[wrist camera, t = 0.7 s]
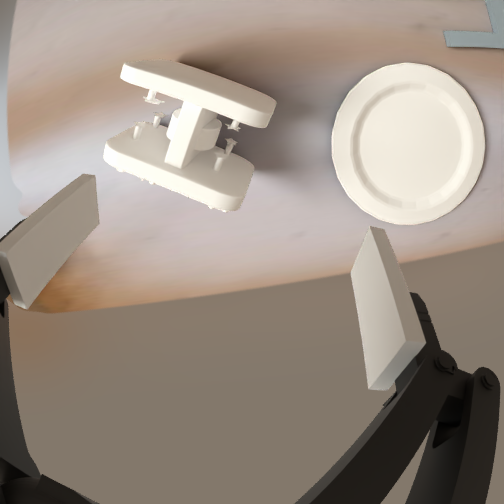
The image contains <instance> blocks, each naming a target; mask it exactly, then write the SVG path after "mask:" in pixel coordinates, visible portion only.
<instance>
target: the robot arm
mask: <svg viewBox="0 0 504 504" xmlns="http://www.w3.org/2000/svg"><path fill="white" fill-rule="evenodd" d="M99 223H100V222H99V213H98V203H97V192H96V178H95V175H89V174H82V175H81V176H79V177H78V178H77V179H75V180H74V181H73V182H71V183H70V184H69V185H67V186H66V187H65V188H63V189H62V190H61V191H59V192H58V193H57V194H56V195H54V196H53V197H52V198H51V199H49V200H48V201H47V202H46V203H44V204H43V205H42V206H41V207H40V208H38V209H37V210H36V211H35V212H34V213H32V214H31V215H30V216H29V217H28V218H26V219H24V220H22V221H20V222H19V223H18V224H17V225H15V226H14V227H13V228H12V230H10V231H9V232H8V233H7V234H6V235H4V236H3V237H2V238H1V239H0V504H99V503H97V502H95V501H93V500H91V499H89V498H87V497H85V496H83V495H81V494H80V493H78V492H76V491H74V490H72V489H70V488H68V487H66V486H64V485H62V484H60V483H58V482H56V481H54V480H52V479H50V478H48V477H47V476H44V475H43V474H42V475H40V473H39V470H38V468H37V466H36V464H35V463H34V461H33V460H32V458H31V457H30V454H29V453H28V450H27V446H26V442H25V439H24V434H23V429H22V425H21V420H20V416H19V410H18V405H17V399H16V393H15V386H14V380H13V371H12V362H11V352H10V339H9V319H8V318H9V317H8V303H7V300H6V298H7V297H8V295H9V294H11V297H12V299H13V301H14V304H15V305H18V306H20V307H22V308H25V309H28V308H29V306H30V305H31V304H32V302H33V301H34V300H35V298H36V297H37V296H38V295H39V293H40V292H41V291H42V289H43V288H44V287H45V286H46V284H47V283H48V282H49V281H50V279H51V278H52V277H53V276H54V275H55V273H56V272H57V271H58V270H59V269H60V267H61V266H62V265H63V264H64V263H65V261H66V260H67V259H68V258H69V257H70V256H71V254H72V253H73V252H74V251H75V250H76V249H77V248H78V246H79V245H80V244H81V243H82V242H83V241H84V240H85V239H86V238H87V236H88V235H89V234H90V233H91V232H92V231H93V230H94V229H95V228H96V227H97V226H98V225H99ZM351 278H352V284H353V289H354V295H355V300H356V306H357V311H358V318H359V323H360V330H361V337H362V343H363V350H364V358H365V365H366V373H367V381H368V389H373V390H388V389H389V388H390V386H391V385H392V384H393V383H394V382H395V385H396V392H395V393H394V394H393V395H392V396H391V397H390V398H389V399H388V400H387V401H386V402H385V403H384V404H383V406H384V407H383V408H382V410H381V411H380V413H378V415H377V416H376V417H375V418H374V420H373V421H372V422H371V423H370V425H369V426H368V427H367V428H366V430H365V431H364V432H363V433H362V434H361V436H360V437H359V438H358V439H357V440H356V441H355V443H354V444H353V445H352V446H351V447H350V448H349V449H348V450H347V452H346V453H345V454H344V455H343V456H342V457H341V458H340V459H339V460H338V461H337V463H336V464H335V465H334V466H333V467H332V468H331V469H330V470H329V471H328V472H327V473H326V474H325V475H324V476H323V477H322V478H321V479H320V480H319V481H318V482H317V483H316V484H315V485H314V486H313V487H312V488H311V489H310V490H309V491H308V492H307V493H305V495H303V496H302V497H301V498H300V499H299V500H298V501H297V502H296V503H295V504H380V503H381V502H382V501H383V499H384V498H385V497H386V496H387V494H388V493H389V491H390V490H391V489H392V487H393V486H394V485H395V483H396V482H397V480H398V479H399V478H400V476H401V475H402V473H403V472H404V470H405V469H406V467H407V466H408V464H409V463H410V461H411V459H412V458H413V457H414V455H415V453H416V452H417V450H418V449H419V447H420V445H421V444H422V442H423V440H424V439H425V437H426V435H427V433H428V432H429V430H430V433H429V436H428V440H427V443H426V447H425V450H424V453H423V456H422V459H421V462H420V466H419V468H418V472H417V474H416V477H415V480H414V482H413V485H412V488H411V491H410V493H409V496H408V498H407V501H406V503H405V504H485V502H486V498H487V494H488V489H489V485H490V480H491V474H492V469H493V463H494V455H495V449H496V441H497V432H498V421H499V407H500V383H499V380H498V378H497V376H496V375H495V374H494V372H493V371H491V370H490V369H488V368H485V367H481V368H478V369H477V370H476V371H475V372H474V373H473V374H470V373H467V372H465V371H462V370H459V369H458V367H457V364H456V362H455V360H454V358H453V357H452V356H451V355H450V354H449V353H447V352H445V351H443V350H441V348H440V345H439V341H438V339H437V336H436V333H435V330H434V327H433V324H432V323H431V318H430V316H429V315H428V310H427V308H426V305H425V303H424V302H423V300H422V299H421V298H420V296H419V295H418V294H416V293H411V292H409V290H408V287H407V285H406V282H405V279H404V277H403V274H402V271H401V269H400V266H399V264H398V261H397V259H396V256H395V254H394V251H393V249H392V246H391V244H390V242H389V239H388V237H387V235H386V232H385V230H384V229H380V228H376V227H372V226H369V228H368V231H367V234H366V236H365V239H364V241H363V244H362V246H361V249H360V251H359V254H358V256H357V258H356V261H355V263H354V266H353V268H352V270H351ZM430 428H431V429H430Z"/></svg>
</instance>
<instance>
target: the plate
mask: <svg viewBox="0 0 504 504" xmlns="http://www.w3.org/2000/svg"><path fill="white" fill-rule="evenodd" d="M484 152H485V136H484V127H483V123H482V120H481V117H480V114H479V112H478V109H477V106H476V105H475V103H474V102H473V100H472V99H471V97H470V96H469V94H468V93H467V91H466V90H465V88H464V87H462V86H461V85H460V84H459V83H458V82H457V81H456V80H454V79H453V78H452V77H451V76H450V75H448V74H446V73H444V72H442V71H440V70H438V69H436V68H433V67H431V66H429V65H423V64H416V63H408V62H406V63H400V64H394V65H388V66H384V67H382V68H380V69H378V70H376V71H374V72H372V73H370V74H368V75H366V76H365V77H364V78H363V79H362V80H361V81H360V82H358V83H357V84H356V85H355V86H354V87H353V88H352V89H351V90H350V91H349V92H348V94H347V96H346V97H345V99H344V101H343V103H342V104H341V106H340V108H339V110H338V111H337V115H336V119H335V123H334V127H333V131H332V159H333V163H334V166H335V170H336V173H337V177H338V179H339V181H340V183H341V184H342V186H343V188H344V190H345V191H346V193H347V195H348V196H349V197H350V198H351V199H352V200H353V201H354V202H355V203H356V204H357V205H358V206H359V207H360V208H361V209H362V210H363V211H365V212H367V213H368V214H370V215H372V216H374V217H375V218H377V219H379V220H382V221H386V222H390V223H393V224H397V225H417V224H421V223H425V222H429V221H433V220H436V219H438V218H439V217H441V216H443V215H445V214H447V213H449V212H451V211H452V210H453V209H454V208H455V207H456V206H458V205H459V204H460V203H461V202H462V201H463V200H464V199H465V198H466V196H467V195H468V194H469V192H470V191H471V189H472V188H473V186H474V185H475V184H476V181H477V179H478V176H479V174H480V171H481V168H482V166H483V160H484Z"/></svg>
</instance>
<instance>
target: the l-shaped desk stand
mask: <svg viewBox="0 0 504 504" xmlns="http://www.w3.org/2000/svg"><path fill="white" fill-rule="evenodd" d="M485 2H486V6H487V9H488V13H489V17H490V21H491V25H492V29H493V33H490V32H475V31H443V32H444V36H445V40H446V45H447V47H489V48H504V0H485Z"/></svg>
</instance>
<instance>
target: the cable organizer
mask: <svg viewBox="0 0 504 504" xmlns="http://www.w3.org/2000/svg"><path fill="white" fill-rule="evenodd" d="M120 78H121V79H122V80H124V81H126V82H128V83H131V84H134V85H137V86H140V87H144V88H147V89H150V91H149V94H148V97H143V96H142V97H143V98H145V99H146V100H145V101H146V102H150V103H154V104H159V103H160V102H164V101H160V100H157V99H156V98H155V95H156V92H159V93H162V94H166V95H169V96H171V97H174V98H177V99H180V100H183V101H184V103H183V106H182V108H180V109H177V110H175V111H174V112H173V115H172V118H171V121H170V124H169V127H168V128H167V127H165V126H162V125H159V123H160V120H161V117H162V118H164V116H168V115H165V114H163V113H162V112H161V113H155V114H156V115H155V120H154V123H149V122H144V121H143V122H140V123H139V122H134V123H136V125H135V126H133V127H131V128H129V129H127V130H125V131H123V132H122V133H120V134H118V135H116V136H114V137H113V138H111V139H109V140H108V141H107V142H106V145H105V150H104V155H103V157H104V160H105V161H106V162H107V163H108V164H110V165H111V166H113V167H115V168H117V171H120V172H123V171H125V172H128V173H130V174H133V175H135V176H138V177H139V178H142V180H141V181H143V180H144V179H145V180H148V181H150V182H149V183H150V184H152V185H155V184H158V185H160V186H163V187H165V188H168V189H170V191H171V190H173V191H175V192H177V193H180V194H182V195H184V196H187V197H188V198H189V197H190V198H192V199H194V200H197V201H199V202H202V203H204V204H207V205H209V207H208V208H210V209H214V208H217V209H219V210H223V211H224V212H225V213H227V212H229V211H236V210H238V209H239V208H240V206H241V204H242V202H243V200H244V197H245V195H246V192H247V189H248V187H249V184H250V181H251V178H252V175H253V172H254V169H255V167H254V166H253V164H252V163H250V162H249V161H248V160H246V159H244V158H243V157H241V156H238V155H236V154H234V153H231V150H232V148H233V146H234V145H236V144H235V143H238V142H236V141H234V140H233V139H232V138H230V139H225V138H224V139H225V140H227V143H228V144H227V147H226V149H225V150H224V149H222V148H219V147H217V146H215V144H216V141H217V138H218V135H219V132H220V129H221V126H222V123H221V121H220V120H218V119H217V115H218V114H221V115H223V116H226V117H228V118H231V119H233V121H232V124H231V125H228V124H225V125H227V126H228V129H234V130H236V131H238V129H242V128H239V127H238V126H239V123H240V122H241V123H244V124H247V125H250V126H253V127H258V128H266V127H267V125H268V123H269V121H270V119H271V116H272V114H273V112H274V109H275V107H276V104H277V102H276V101H275V100H274V99H273V98H271V97H269V96H268V95H266V94H264V93H261V92H259V91H257V90H254V89H252V88H249V87H247V86H244V85H242V84H239V83H237V82H234V81H231V80H229V79H226V78H223V77H220V76H218V75H215V74H212V73H209V72H206V71H203V70H200V69H197V68H194V67H191V66H188V65H185V64H182V63H179V62H175V61H171V60H165V59H155V60H143V61H133V62H126V63H124V66H123V69H122V72H121V76H120ZM159 105H160V104H159ZM153 113H154V112H153ZM238 132H239V131H238Z"/></svg>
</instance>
